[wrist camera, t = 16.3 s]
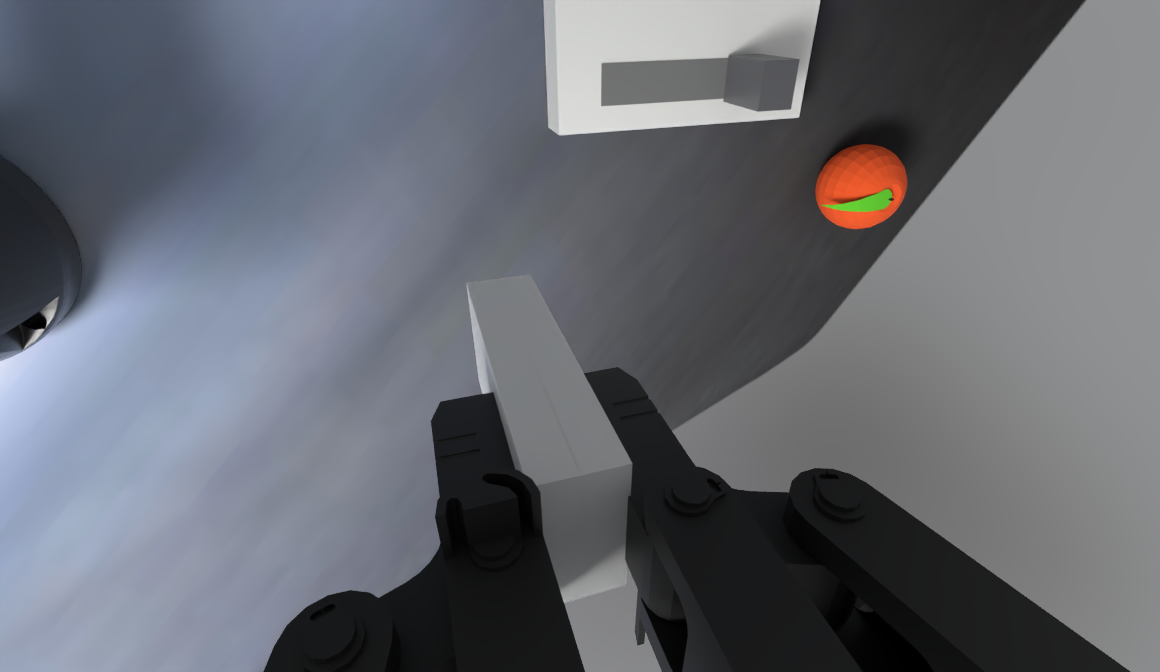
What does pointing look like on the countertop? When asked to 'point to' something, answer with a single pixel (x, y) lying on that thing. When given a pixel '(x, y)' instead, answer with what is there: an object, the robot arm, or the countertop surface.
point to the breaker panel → (674, 62)
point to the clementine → (861, 186)
